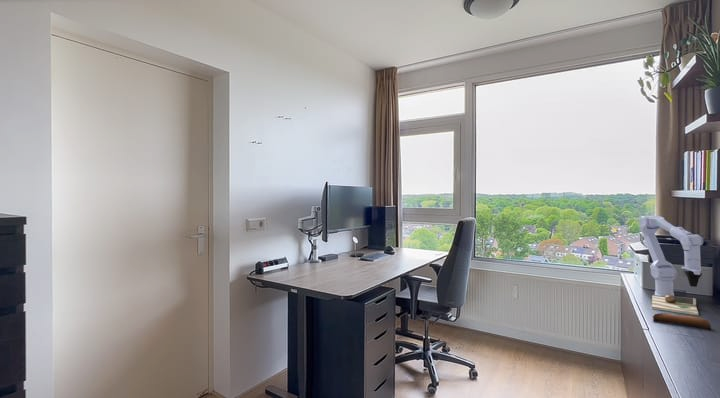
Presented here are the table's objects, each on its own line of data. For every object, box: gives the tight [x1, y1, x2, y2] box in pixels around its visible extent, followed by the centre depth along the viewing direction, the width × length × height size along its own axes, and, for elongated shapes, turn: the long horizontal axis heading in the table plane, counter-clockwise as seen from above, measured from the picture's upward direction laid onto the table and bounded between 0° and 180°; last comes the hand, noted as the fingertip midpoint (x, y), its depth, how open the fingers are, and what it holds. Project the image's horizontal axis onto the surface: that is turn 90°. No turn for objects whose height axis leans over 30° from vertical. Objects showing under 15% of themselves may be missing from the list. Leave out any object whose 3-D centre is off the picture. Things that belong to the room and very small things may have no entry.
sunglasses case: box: [652, 312, 712, 330], centre depth 146 cm, size 18×7×7 cm
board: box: [651, 295, 699, 316], centre depth 167 cm, size 22×16×1 cm
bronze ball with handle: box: [665, 295, 697, 306], centre depth 167 cm, size 11×4×3 cm, turn 49°
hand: (693, 286), depth 167 cm, fingers closed
